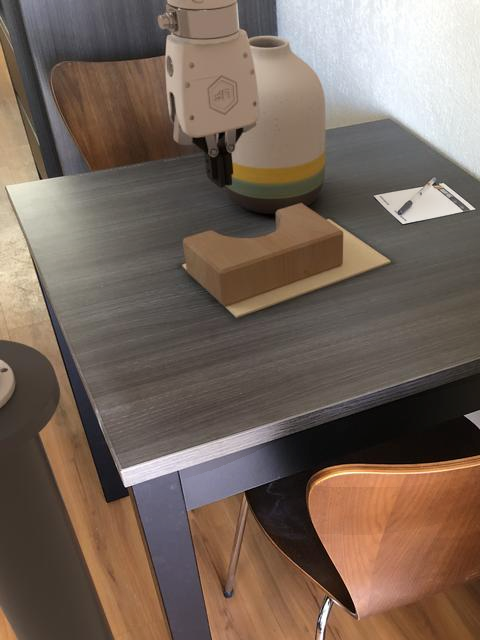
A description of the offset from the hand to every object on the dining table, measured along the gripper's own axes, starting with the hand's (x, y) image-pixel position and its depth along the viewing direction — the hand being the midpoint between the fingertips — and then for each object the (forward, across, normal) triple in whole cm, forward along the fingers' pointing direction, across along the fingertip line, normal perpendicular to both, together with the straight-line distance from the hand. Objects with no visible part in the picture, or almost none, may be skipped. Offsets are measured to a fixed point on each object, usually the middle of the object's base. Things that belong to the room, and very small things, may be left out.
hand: (220, 182), depth 93 cm
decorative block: (+12, -4, 0) cm, 12 cm away
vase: (+15, +19, +19) cm, 31 cm away
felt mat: (+15, +9, 0) cm, 18 cm away
